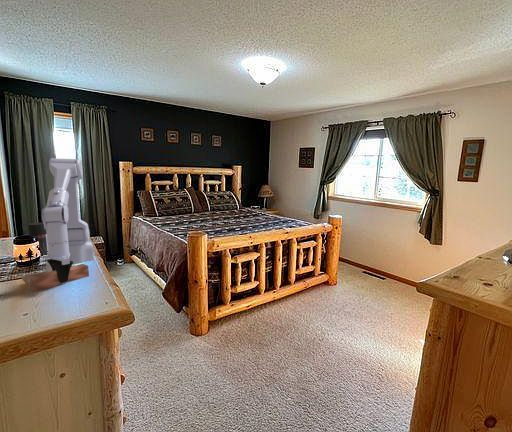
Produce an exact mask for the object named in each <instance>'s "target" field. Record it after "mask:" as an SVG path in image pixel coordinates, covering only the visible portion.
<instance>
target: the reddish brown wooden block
mask: <svg viewBox="0 0 512 432" xmlns="http://www.w3.org/2000/svg"><path fill="white" fill-rule="evenodd" d="M88 277H90V271H89V265H87V264H84V263H79V264H75V266H73V265H72V266H71V268H70V271H69V277H68V281H67V282H63V283H60V282H59V279H58V276H57V272H56V270H55V271H51V272H46V273H42V274H38V275H34V276H30V283H31V284H30V288H31V289H32V290H33V291H35V292H38V291H42V290H45V289H49V288H52V287H57V286H59V285H62V284H66V283H70V282H73V281H78V280H81V279H85V278H88Z"/></svg>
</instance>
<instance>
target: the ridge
mask: <svg viewBox="0 0 512 432" xmlns="http://www.w3.org/2000/svg"><path fill="white" fill-rule="evenodd" d="M51 271H53V270H52V268H51V266H50V264H49V263H48V262H47V260H46V261H45V266H43V267H42V272H43V273H46V272H51Z"/></svg>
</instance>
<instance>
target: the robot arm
mask: <svg viewBox="0 0 512 432" xmlns="http://www.w3.org/2000/svg"><path fill="white" fill-rule="evenodd" d="M48 167H49V171H50V173H51V175H52V176H53V177H54V181H53V182H54V183H53V188H52V189H50V190H49V192H48V197H47V202H46V206H45V207H43V208H42V209H41V221H42V223H44V228H45V231H46V241H47V251H48V255H47V256H43V257H44V259H45V260H46V261H47V262H48V263H49V264H50V266H51V268H52V270H53V271H55V270H56V272H57V276H58V279H59V282H60V283H63V282H67V281H68V277H69V271H70V268H71V266H73V265H80V264H84V263H86V262H91V261H95V254H94V246H93V242H92V241H90V236H91V235H90V234H91V233H90V228H89V224H88V223H87V222H86V221H84V220H82V219H81V213H80V201H79V200H80V199H79V190H78V189H79V187H78V184H79V181H80V180H83V176H84V173H83V164H82V160H80V158H58V157H57V158H55V157H51V158H50V159H49V162H48ZM67 283H68V282H67Z"/></svg>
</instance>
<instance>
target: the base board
mask: <svg viewBox="0 0 512 432" xmlns="http://www.w3.org/2000/svg"><path fill="white" fill-rule="evenodd" d="M72 266H76V264H72ZM42 273H43V271H41V272H40V271H39V272H35V273H31V274H25V275H20V278H21V280H23V282H24V283H25V284H26V285H31V283H30V276H34V275H38V274H42Z"/></svg>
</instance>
